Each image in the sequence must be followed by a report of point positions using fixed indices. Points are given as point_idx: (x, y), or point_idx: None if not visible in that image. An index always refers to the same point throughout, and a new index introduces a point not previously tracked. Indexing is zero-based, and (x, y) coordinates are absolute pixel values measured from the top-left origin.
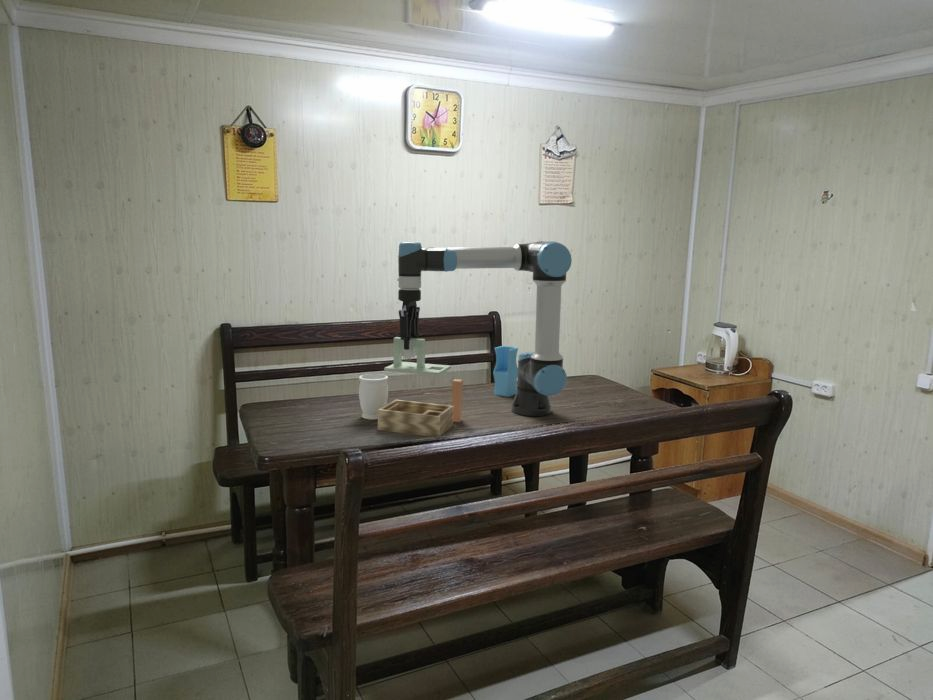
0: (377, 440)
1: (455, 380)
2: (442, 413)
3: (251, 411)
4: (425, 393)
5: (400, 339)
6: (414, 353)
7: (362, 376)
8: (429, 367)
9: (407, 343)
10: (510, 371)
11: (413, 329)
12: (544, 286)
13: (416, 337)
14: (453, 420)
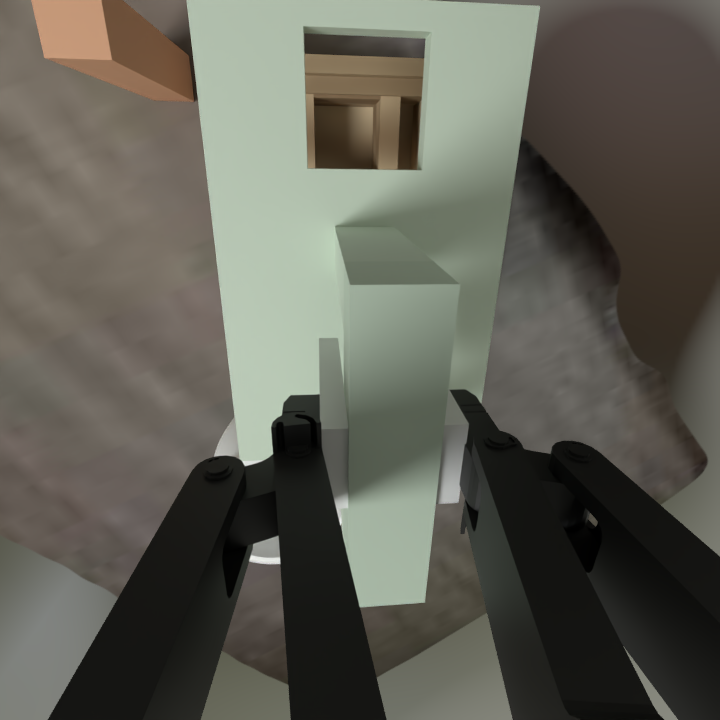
0: (526, 289)
1: (86, 37)
2: (396, 65)
3: (378, 668)
4: None
5: (428, 535)
6: (335, 352)
7: (266, 557)
8: (355, 174)
9: (493, 426)
10: None
11: (340, 537)
12: None
13: (318, 423)
14: (191, 88)
